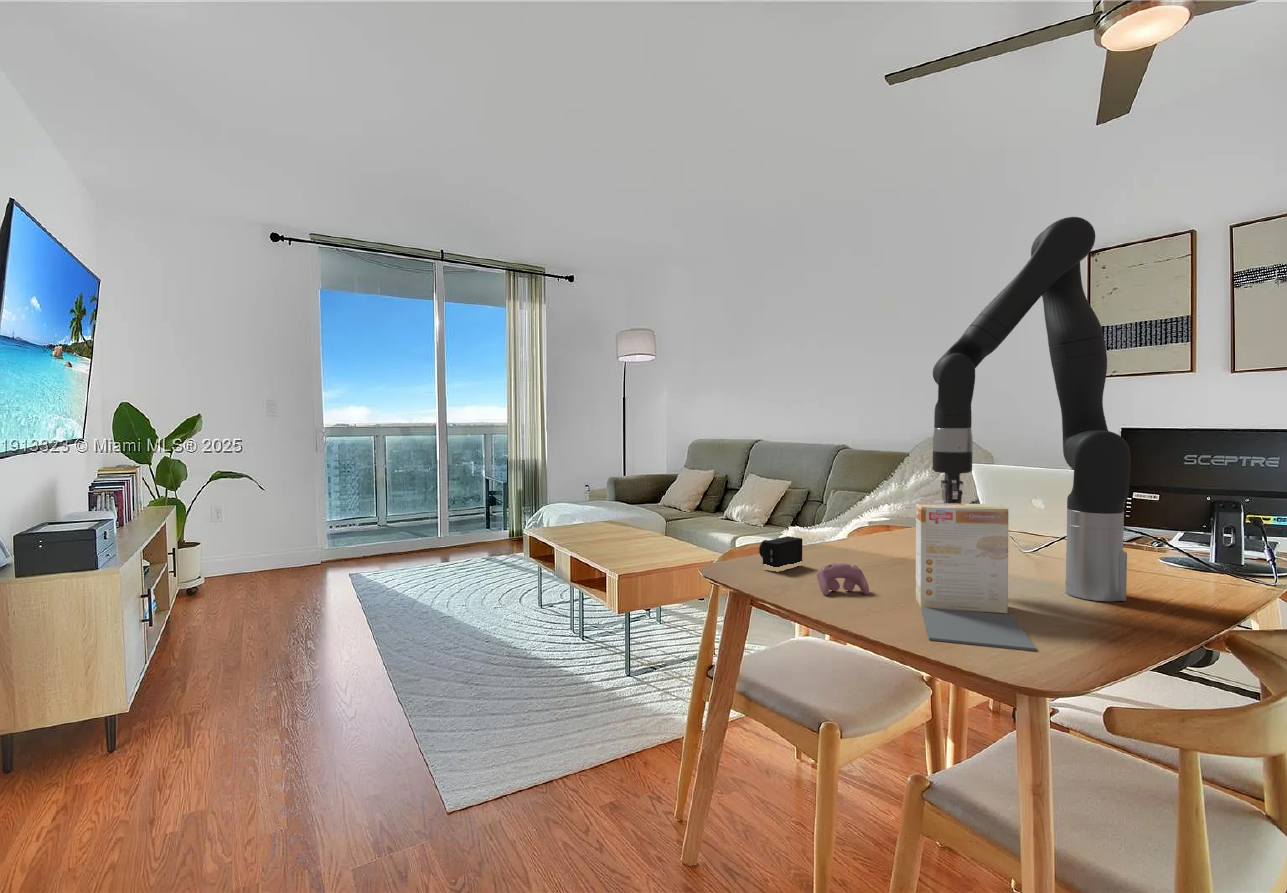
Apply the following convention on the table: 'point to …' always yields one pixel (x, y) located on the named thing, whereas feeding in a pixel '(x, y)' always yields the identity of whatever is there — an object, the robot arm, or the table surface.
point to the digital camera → (781, 551)
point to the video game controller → (846, 571)
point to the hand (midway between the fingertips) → (951, 531)
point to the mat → (975, 628)
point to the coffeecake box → (962, 556)
